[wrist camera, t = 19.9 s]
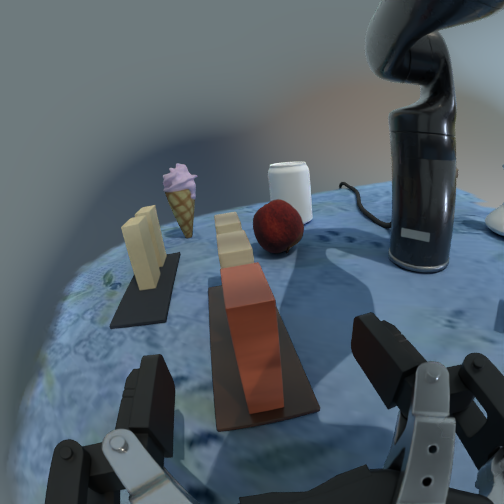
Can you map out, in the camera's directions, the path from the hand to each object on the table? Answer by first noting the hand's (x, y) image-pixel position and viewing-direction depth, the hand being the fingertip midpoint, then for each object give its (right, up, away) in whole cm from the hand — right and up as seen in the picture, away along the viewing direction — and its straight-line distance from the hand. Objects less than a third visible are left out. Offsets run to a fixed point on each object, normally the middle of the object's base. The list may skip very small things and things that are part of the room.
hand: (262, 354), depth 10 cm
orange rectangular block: (0, -6, +8) cm, 10 cm away
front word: (-1, -4, +14) cm, 15 cm away
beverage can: (+8, +10, +45) cm, 47 cm away
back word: (-15, 0, +26) cm, 30 cm away
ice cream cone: (-13, +7, +44) cm, 47 cm away
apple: (+4, +4, +32) cm, 32 cm away
